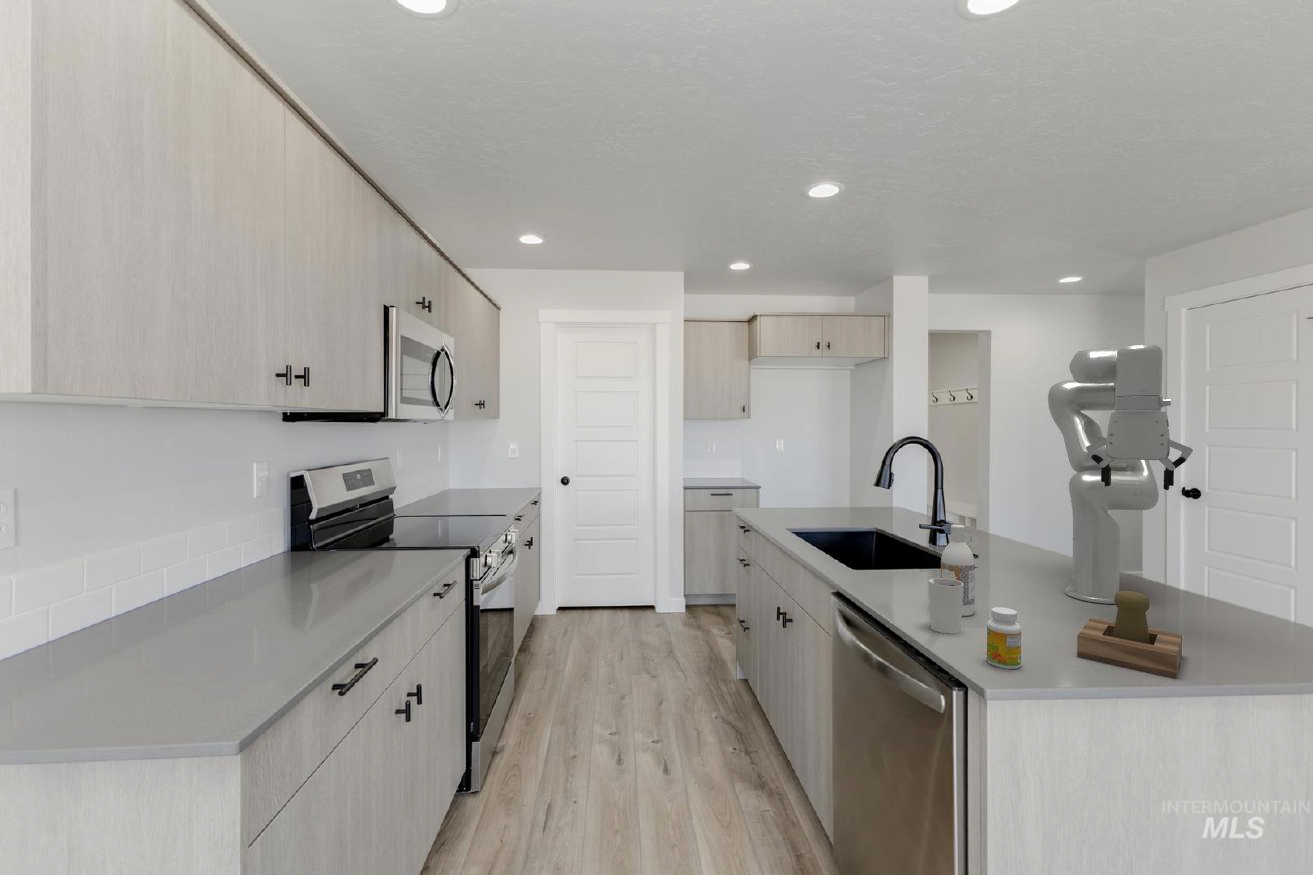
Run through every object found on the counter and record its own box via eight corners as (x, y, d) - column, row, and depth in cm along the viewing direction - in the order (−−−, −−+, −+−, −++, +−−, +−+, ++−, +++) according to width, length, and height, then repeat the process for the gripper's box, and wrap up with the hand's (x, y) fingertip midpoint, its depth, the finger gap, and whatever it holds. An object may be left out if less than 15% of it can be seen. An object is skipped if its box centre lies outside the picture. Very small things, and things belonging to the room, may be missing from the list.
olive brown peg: (1159, 658, 108) (1160, 597, 108) (1121, 655, 110) (1122, 595, 109) (1139, 646, 114) (1140, 588, 114) (1104, 643, 116) (1104, 586, 115)
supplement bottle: (980, 658, 111) (980, 606, 111) (1007, 657, 112) (1008, 605, 112) (999, 670, 106) (999, 615, 106) (1028, 669, 106) (1028, 614, 106)
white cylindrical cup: (945, 622, 131) (946, 576, 131) (970, 632, 125) (971, 584, 125) (921, 625, 129) (921, 579, 129) (945, 636, 123) (945, 587, 123)
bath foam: (933, 609, 140) (934, 524, 140) (955, 605, 143) (956, 522, 143) (959, 618, 134) (959, 529, 134) (981, 614, 137) (982, 526, 136)
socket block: (1090, 637, 122) (1090, 617, 122) (1181, 655, 112) (1182, 634, 112) (1077, 656, 112) (1077, 635, 112) (1176, 678, 102) (1176, 655, 102)
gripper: (1194, 404, 121) (1193, 489, 122) (1090, 406, 133) (1088, 483, 134) (1192, 404, 116) (1190, 492, 116) (1083, 405, 128) (1082, 486, 128)
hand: (1136, 487), depth 125 cm, fingers open, 9 cm apart
